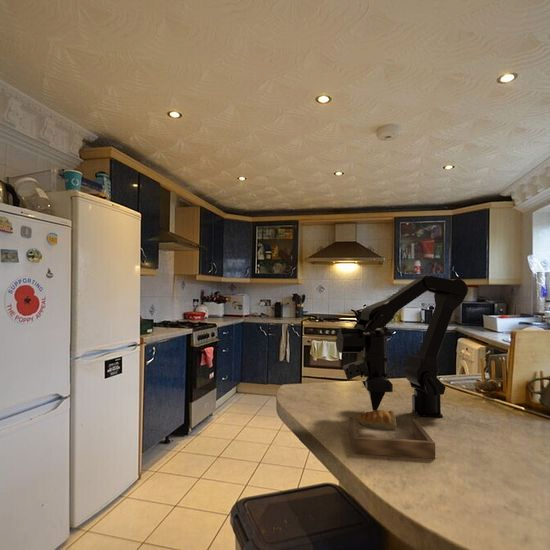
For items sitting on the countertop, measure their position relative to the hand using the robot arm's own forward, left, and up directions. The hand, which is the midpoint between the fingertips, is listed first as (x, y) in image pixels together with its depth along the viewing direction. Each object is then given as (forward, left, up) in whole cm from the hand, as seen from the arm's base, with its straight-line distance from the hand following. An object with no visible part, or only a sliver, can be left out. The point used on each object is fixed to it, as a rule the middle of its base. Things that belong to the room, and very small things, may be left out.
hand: (374, 410), depth 97 cm
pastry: (0, +6, -2) cm, 7 cm away
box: (0, +17, -2) cm, 18 cm away
